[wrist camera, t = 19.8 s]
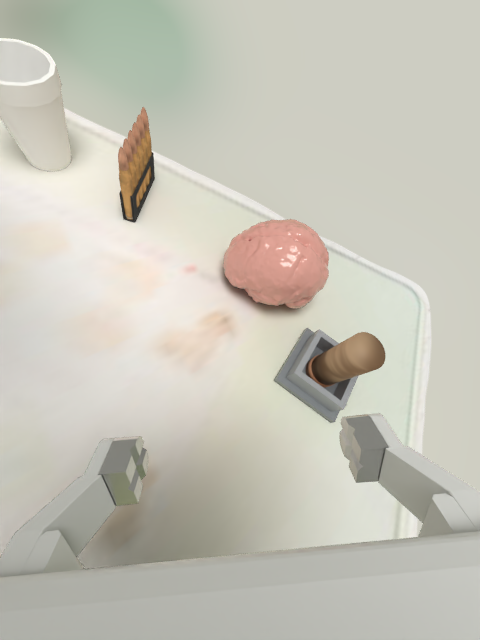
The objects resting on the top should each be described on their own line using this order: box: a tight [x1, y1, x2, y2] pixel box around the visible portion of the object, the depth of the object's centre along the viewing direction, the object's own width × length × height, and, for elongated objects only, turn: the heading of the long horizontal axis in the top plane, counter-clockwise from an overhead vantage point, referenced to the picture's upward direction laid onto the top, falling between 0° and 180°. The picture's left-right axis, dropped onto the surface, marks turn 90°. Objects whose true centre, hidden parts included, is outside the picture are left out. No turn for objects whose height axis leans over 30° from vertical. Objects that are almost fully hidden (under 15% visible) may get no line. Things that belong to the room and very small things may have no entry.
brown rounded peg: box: [306, 332, 385, 388], centre depth 37 cm, size 5×5×11 cm
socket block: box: [274, 328, 359, 422], centre depth 41 cm, size 10×10×4 cm
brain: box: [224, 219, 329, 308], centre depth 43 cm, size 16×13×12 cm
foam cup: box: [0, 38, 72, 171], centre depth 40 cm, size 10×9×13 cm
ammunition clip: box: [118, 107, 155, 222], centre depth 42 cm, size 11×2×12 cm, turn 170°
